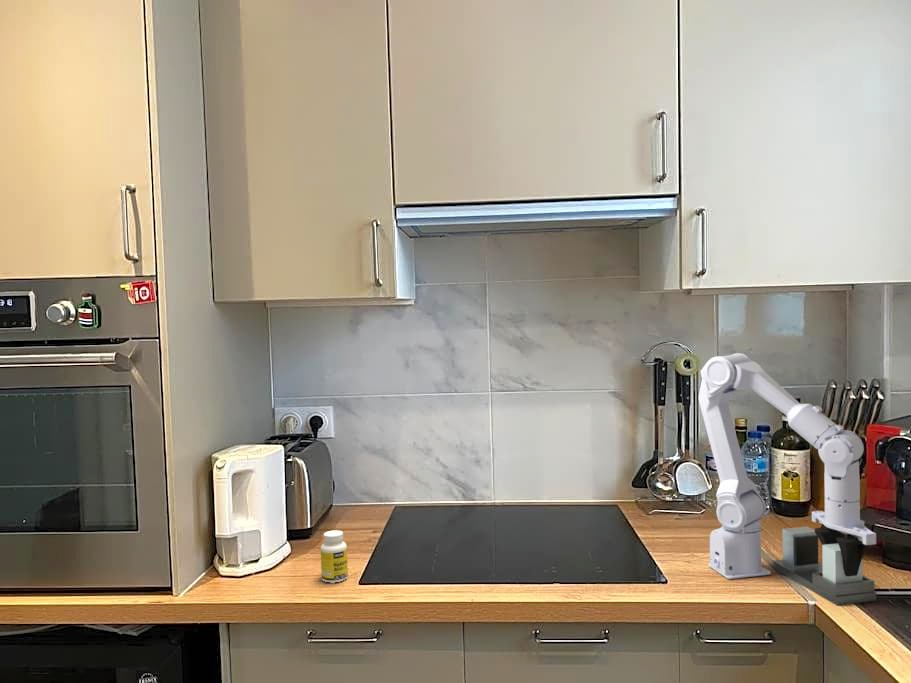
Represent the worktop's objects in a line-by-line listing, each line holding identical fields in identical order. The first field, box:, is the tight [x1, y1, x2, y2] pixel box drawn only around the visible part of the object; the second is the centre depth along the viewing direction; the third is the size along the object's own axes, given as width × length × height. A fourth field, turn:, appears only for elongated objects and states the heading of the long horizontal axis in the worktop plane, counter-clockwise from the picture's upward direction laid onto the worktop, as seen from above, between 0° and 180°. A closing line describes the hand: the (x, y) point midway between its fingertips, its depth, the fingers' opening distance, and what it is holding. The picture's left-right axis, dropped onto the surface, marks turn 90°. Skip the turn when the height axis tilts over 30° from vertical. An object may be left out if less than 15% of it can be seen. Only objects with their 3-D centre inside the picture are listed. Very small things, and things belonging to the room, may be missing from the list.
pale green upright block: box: [821, 543, 864, 584], centre depth 133 cm, size 4×6×7 cm
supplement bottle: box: [320, 529, 349, 584], centre depth 151 cm, size 5×5×10 cm
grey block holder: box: [772, 526, 877, 606], centre depth 139 cm, size 8×19×8 cm, turn 10°
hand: (842, 571), depth 133 cm, fingers closed on pale green upright block, 4 cm apart
